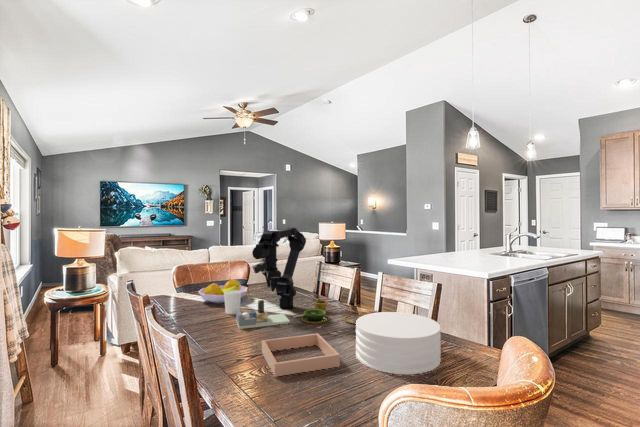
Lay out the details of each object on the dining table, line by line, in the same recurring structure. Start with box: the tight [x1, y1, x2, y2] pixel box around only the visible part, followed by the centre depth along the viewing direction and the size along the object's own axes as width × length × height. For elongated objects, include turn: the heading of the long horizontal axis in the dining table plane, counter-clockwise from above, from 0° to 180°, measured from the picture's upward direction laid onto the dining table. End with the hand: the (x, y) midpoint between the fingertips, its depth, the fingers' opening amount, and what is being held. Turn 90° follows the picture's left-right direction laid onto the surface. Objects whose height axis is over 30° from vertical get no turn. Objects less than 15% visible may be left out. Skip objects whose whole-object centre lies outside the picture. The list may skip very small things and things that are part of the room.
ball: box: [242, 311, 250, 319], centre depth 158 cm, size 4×4×4 cm
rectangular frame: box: [261, 332, 341, 377], centre depth 120 cm, size 21×21×4 cm
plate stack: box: [355, 311, 442, 374], centre depth 122 cm, size 28×28×12 cm
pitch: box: [235, 308, 291, 330], centre depth 160 cm, size 22×12×6 cm, turn 110°
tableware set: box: [292, 300, 365, 329], centre depth 160 cm, size 41×28×6 cm
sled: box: [250, 299, 269, 322], centre depth 160 cm, size 6×6×8 cm
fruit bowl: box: [197, 278, 248, 304], centre depth 199 cm, size 28×27×11 cm
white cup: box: [224, 290, 242, 315], centre depth 175 cm, size 8×8×10 cm
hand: (270, 289), depth 172 cm, fingers open, 9 cm apart
